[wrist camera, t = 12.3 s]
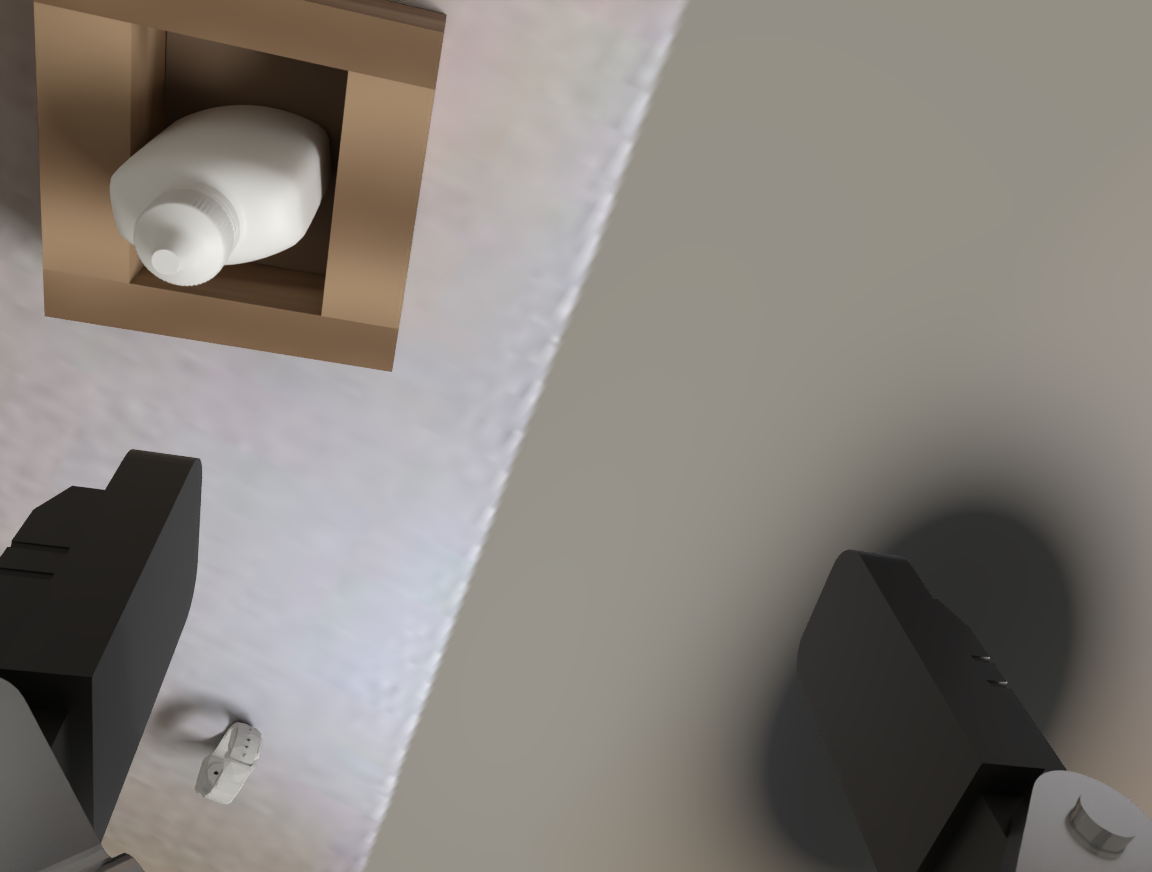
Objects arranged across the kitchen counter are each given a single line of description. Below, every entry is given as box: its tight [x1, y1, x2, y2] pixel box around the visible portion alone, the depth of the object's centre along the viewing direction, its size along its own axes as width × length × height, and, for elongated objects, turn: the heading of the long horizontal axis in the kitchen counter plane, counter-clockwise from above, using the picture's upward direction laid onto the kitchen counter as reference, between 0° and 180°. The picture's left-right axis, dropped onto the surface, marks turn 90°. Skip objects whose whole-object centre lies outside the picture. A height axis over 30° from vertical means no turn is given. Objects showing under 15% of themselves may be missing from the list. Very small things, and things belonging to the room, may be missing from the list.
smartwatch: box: [195, 722, 263, 805], centre depth 49 cm, size 4×2×4 cm, turn 143°
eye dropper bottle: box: [110, 105, 332, 286], centre depth 30 cm, size 4×6×12 cm
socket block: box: [34, 0, 446, 372], centre depth 34 cm, size 12×12×5 cm
